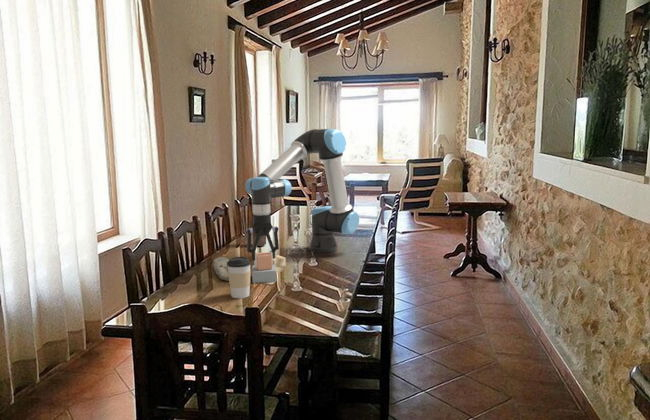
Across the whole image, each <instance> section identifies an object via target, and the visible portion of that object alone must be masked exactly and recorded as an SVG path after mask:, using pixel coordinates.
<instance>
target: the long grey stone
mask: <svg viewBox="0 0 650 420" xmlns="http://www.w3.org/2000/svg"><path fill="white" fill-rule="evenodd" d="M229 260H230V258H228V257H226V256H219V257H215V258H214V259H213V261H212V268H213V269H214V272H215V274H216V275H217V277H219V279H220V280H223V281H229V276H228V266H227V262H228V261H229Z"/></svg>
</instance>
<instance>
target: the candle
mask: <svg viewBox="0 0 650 420" xmlns="http://www.w3.org/2000/svg"><path fill="white" fill-rule="evenodd" d="M253 215H254V213H253V212H252V216H253ZM255 234H256V233H255V232H254V230H252V244H253V243H254V239H255ZM264 245H267V237H266V236H264V235H262V236H260V237H259V240H258V243H257V247H262V246H264Z"/></svg>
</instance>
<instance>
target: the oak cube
mask: <svg viewBox="0 0 650 420" xmlns="http://www.w3.org/2000/svg"><path fill="white" fill-rule="evenodd" d="M286 260H287V258H286V257H284V256H281V255H275V259H273V265H275V267H276V274H277V273H280V272H284V271H287V265H286V262H287V261H286Z"/></svg>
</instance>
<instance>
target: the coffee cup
mask: <svg viewBox="0 0 650 420" xmlns="http://www.w3.org/2000/svg"><path fill="white" fill-rule="evenodd" d="M251 262H252V261H251V260H250V259H249V258H248V257H247V256H246V257H245V256H235V257H230V258H229V261H228V262H227V266H228V276H229V280H228V283H229V288H230V296H231V298H233V299H245V298H248V297H249V296H250V290H251V289H250V286H251V265H252V263H251Z"/></svg>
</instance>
